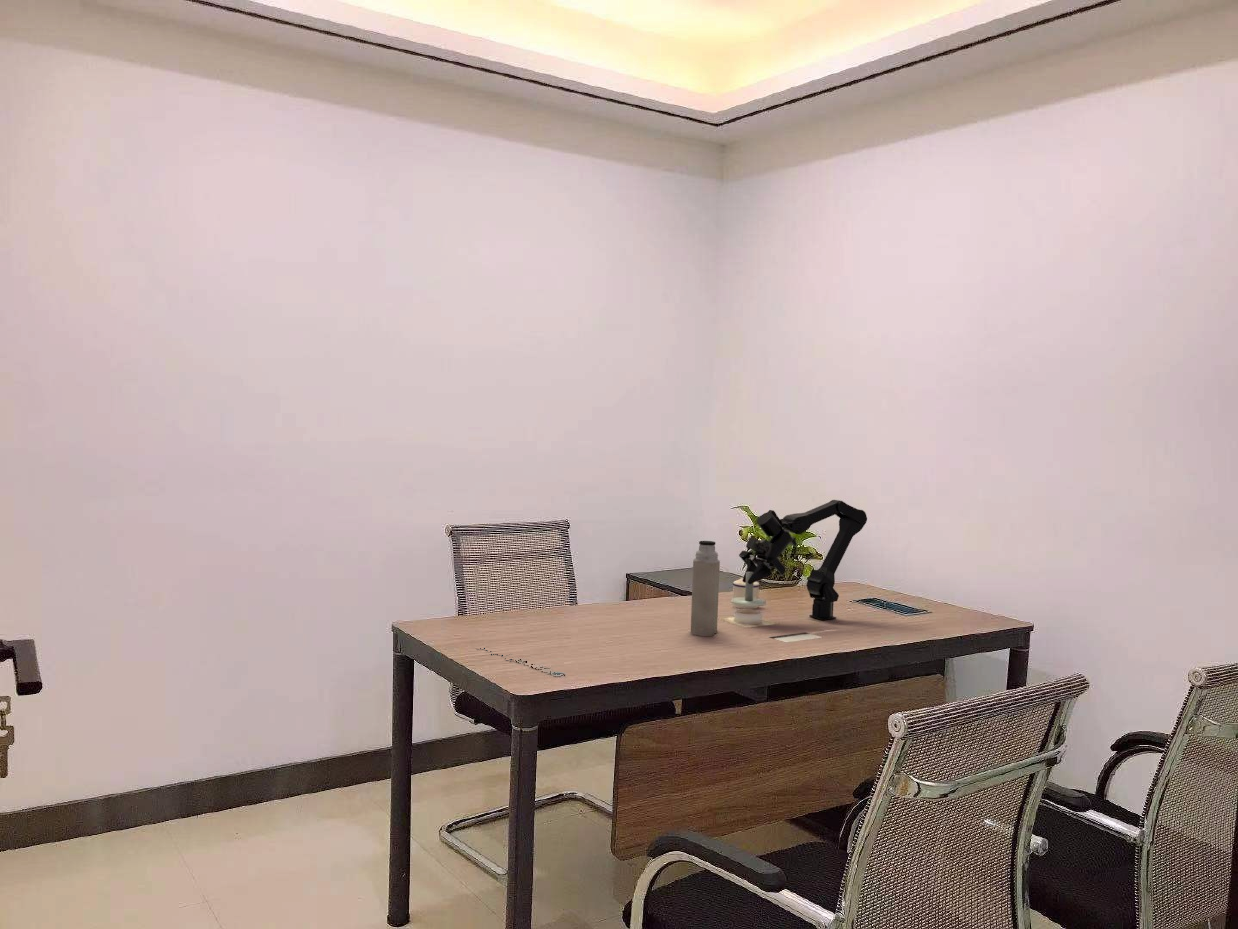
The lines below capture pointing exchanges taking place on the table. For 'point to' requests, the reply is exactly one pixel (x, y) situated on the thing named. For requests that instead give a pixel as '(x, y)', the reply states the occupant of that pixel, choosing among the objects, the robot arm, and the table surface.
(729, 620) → the board
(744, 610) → the bowl
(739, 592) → the teacup with lid
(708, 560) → the thermos bottle
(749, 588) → the lid
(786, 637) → the mat
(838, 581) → the table surface
